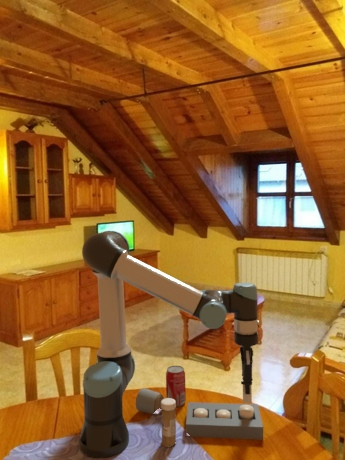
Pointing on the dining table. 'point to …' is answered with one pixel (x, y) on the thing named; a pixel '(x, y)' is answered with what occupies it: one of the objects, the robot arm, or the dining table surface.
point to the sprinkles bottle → (168, 422)
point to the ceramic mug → (148, 401)
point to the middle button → (223, 414)
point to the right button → (246, 412)
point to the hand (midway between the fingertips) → (247, 401)
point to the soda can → (176, 384)
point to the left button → (201, 413)
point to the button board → (223, 422)
